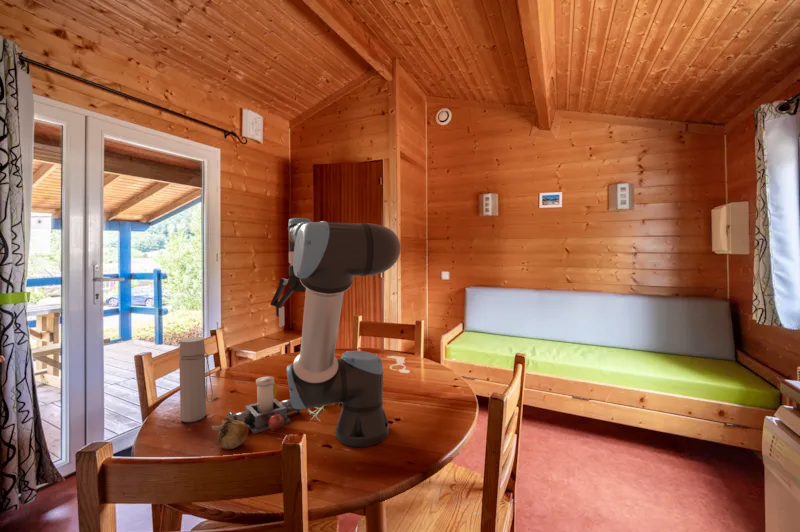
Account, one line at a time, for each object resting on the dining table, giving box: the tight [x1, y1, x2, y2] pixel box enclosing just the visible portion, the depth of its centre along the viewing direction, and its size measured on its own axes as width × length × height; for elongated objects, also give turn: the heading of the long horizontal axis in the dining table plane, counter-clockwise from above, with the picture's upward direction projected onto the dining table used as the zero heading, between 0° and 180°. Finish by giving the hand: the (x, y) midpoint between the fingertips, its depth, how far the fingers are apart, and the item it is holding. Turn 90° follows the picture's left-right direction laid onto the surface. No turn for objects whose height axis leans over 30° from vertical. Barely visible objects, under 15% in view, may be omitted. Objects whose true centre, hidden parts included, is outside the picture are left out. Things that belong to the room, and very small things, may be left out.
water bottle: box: [178, 336, 214, 423], centre depth 114 cm, size 9×8×25 cm
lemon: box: [273, 380, 278, 399], centre depth 127 cm, size 6×6×8 cm
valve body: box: [226, 397, 302, 435], centre depth 111 cm, size 14×21×6 cm
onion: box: [211, 417, 249, 450], centre depth 98 cm, size 8×8×8 cm
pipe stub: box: [255, 376, 275, 414], centre depth 112 cm, size 5×5×12 cm
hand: (301, 326), depth 124 cm, fingers open, 13 cm apart
